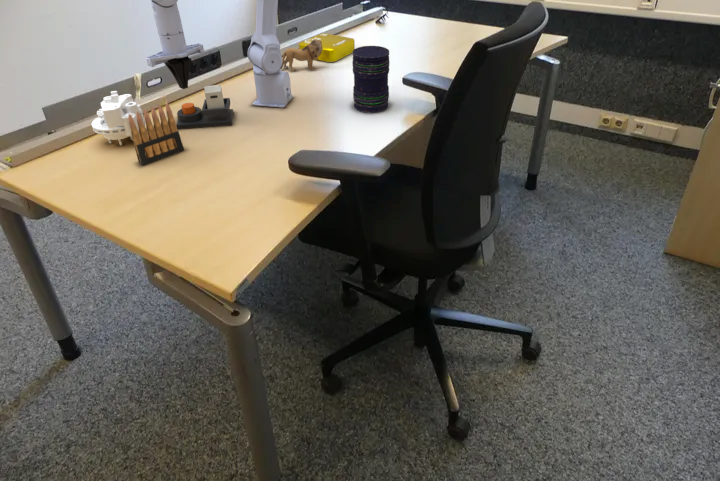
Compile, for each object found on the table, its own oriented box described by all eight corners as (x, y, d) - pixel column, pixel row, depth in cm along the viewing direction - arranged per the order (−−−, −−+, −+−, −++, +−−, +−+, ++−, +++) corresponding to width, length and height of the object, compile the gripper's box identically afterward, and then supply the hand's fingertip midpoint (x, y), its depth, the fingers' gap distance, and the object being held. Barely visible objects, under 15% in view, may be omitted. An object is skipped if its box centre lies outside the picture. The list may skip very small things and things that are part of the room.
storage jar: (372, 116, 138) (372, 60, 129) (346, 106, 143) (344, 52, 134) (396, 104, 143) (397, 50, 134) (369, 96, 149) (369, 43, 140)
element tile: (332, 63, 172) (331, 48, 169) (297, 56, 178) (296, 42, 175) (357, 51, 182) (356, 37, 179) (322, 44, 188) (322, 31, 185)
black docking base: (233, 112, 141) (231, 102, 139) (231, 125, 135) (229, 114, 133) (181, 116, 140) (178, 106, 138) (177, 129, 133) (174, 118, 131)
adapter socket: (230, 103, 139) (229, 97, 138) (228, 114, 133) (227, 108, 132) (205, 104, 138) (204, 99, 137) (202, 116, 132) (201, 110, 131)
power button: (196, 109, 137) (194, 102, 135) (195, 114, 134) (193, 107, 133) (184, 110, 136) (182, 103, 135) (182, 115, 134) (180, 108, 132)
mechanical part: (109, 130, 133) (94, 86, 126) (155, 130, 133) (142, 85, 126) (90, 150, 124) (72, 104, 117) (138, 150, 124) (124, 104, 117)
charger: (224, 104, 138) (220, 84, 134) (225, 111, 134) (221, 91, 131) (208, 106, 137) (204, 86, 134) (208, 113, 133) (204, 93, 130)
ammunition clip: (180, 147, 125) (168, 100, 118) (184, 150, 124) (172, 102, 117) (138, 162, 119) (123, 114, 112) (142, 165, 118) (126, 116, 111)
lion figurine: (322, 64, 171) (320, 36, 166) (324, 69, 167) (323, 41, 162) (278, 68, 169) (275, 40, 163) (279, 73, 165) (276, 45, 159)
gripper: (151, 42, 116) (166, 99, 125) (206, 28, 125) (216, 83, 133) (136, 36, 120) (151, 92, 129) (190, 23, 129) (201, 77, 137)
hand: (183, 87), depth 131 cm, fingers closed
